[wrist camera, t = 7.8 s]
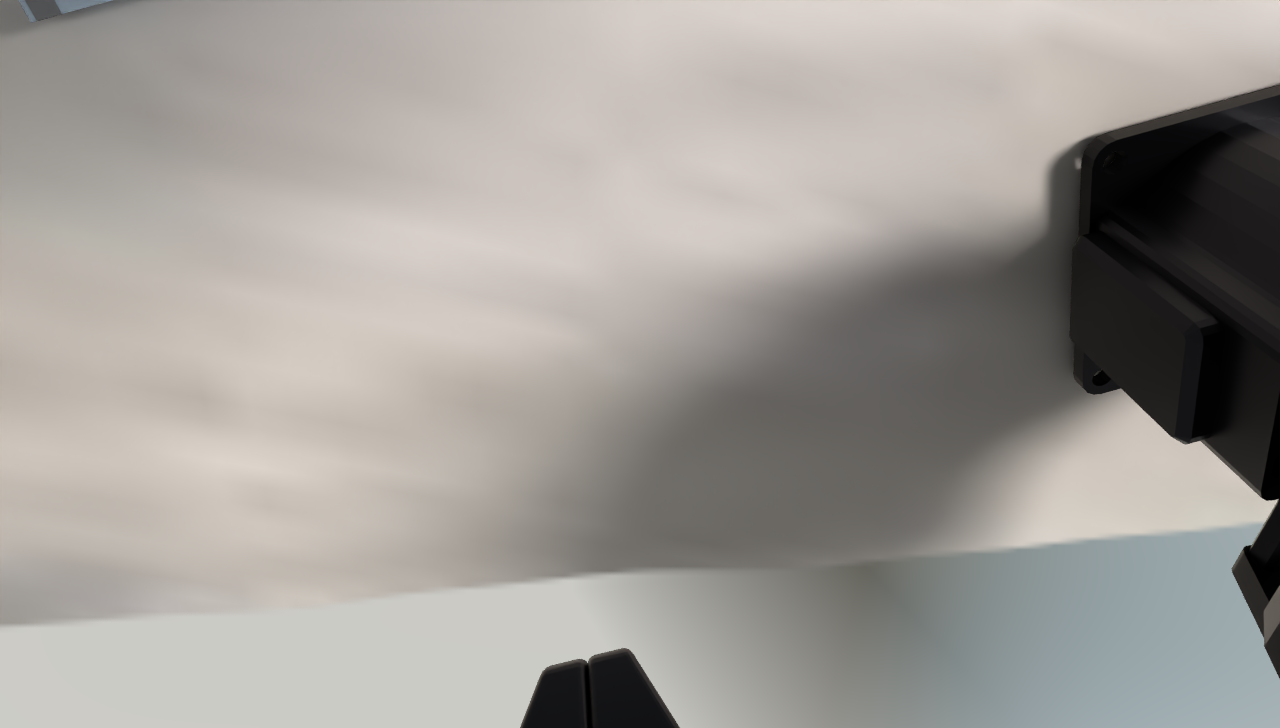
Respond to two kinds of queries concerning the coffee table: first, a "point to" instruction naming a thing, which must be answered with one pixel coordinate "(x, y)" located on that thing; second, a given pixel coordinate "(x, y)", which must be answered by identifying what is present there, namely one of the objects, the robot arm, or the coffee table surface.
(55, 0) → the blue book
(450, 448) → the coffee table surface
